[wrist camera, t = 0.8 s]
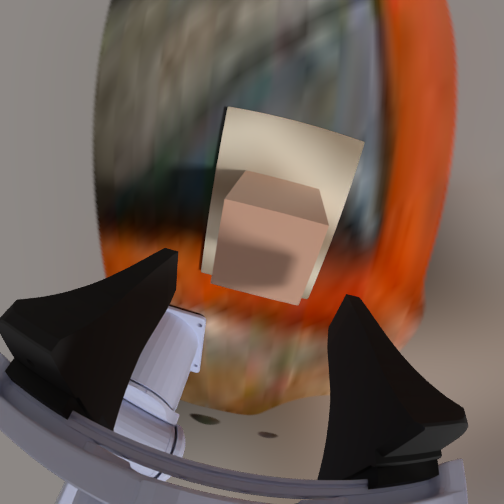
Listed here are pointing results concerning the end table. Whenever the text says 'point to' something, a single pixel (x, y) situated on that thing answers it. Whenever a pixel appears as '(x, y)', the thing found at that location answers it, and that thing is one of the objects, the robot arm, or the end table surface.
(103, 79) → the end table surface
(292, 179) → the birch board
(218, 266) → the salmon cube
